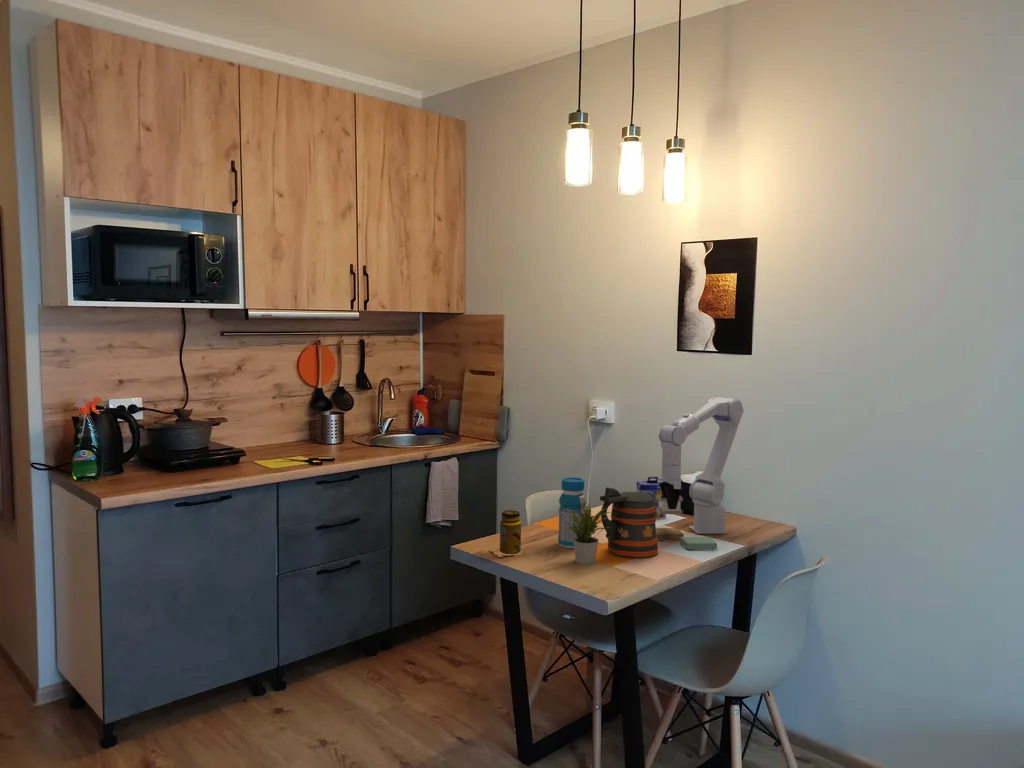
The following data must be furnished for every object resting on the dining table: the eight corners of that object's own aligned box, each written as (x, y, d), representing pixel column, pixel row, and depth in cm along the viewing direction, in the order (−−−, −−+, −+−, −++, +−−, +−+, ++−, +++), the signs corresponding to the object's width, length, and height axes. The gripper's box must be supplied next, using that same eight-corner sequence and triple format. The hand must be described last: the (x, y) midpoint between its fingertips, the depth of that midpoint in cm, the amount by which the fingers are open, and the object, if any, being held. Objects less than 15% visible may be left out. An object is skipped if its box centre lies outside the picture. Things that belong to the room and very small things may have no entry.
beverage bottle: (563, 550, 218) (564, 482, 217) (553, 541, 226) (555, 477, 225) (590, 548, 221) (591, 481, 219) (579, 540, 229) (581, 475, 227)
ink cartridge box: (638, 519, 255) (640, 477, 254) (634, 515, 260) (635, 474, 259) (666, 518, 256) (668, 477, 255) (662, 514, 261) (663, 474, 260)
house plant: (622, 568, 202) (624, 509, 201) (575, 573, 198) (576, 512, 197) (601, 553, 216) (602, 497, 214) (556, 556, 212) (557, 500, 210)
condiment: (525, 554, 213) (526, 513, 212) (498, 558, 210) (499, 516, 209) (515, 547, 220) (515, 508, 219) (488, 551, 216) (489, 510, 215)
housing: (678, 510, 234) (678, 494, 234) (682, 513, 230) (682, 497, 229) (656, 510, 233) (656, 495, 233) (660, 514, 229) (660, 498, 229)
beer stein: (622, 565, 205) (623, 493, 204) (585, 551, 217) (587, 484, 215) (668, 553, 217) (670, 485, 215) (631, 541, 228) (633, 477, 227)
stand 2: (708, 542, 228) (709, 536, 228) (717, 549, 221) (717, 543, 221) (680, 543, 227) (680, 536, 227) (687, 550, 220) (687, 543, 220)
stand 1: (676, 534, 237) (676, 527, 237) (683, 540, 230) (683, 534, 230) (648, 534, 236) (649, 528, 236) (654, 540, 229) (655, 534, 229)
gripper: (652, 459, 237) (651, 501, 238) (665, 468, 223) (663, 512, 224) (674, 459, 238) (672, 501, 239) (688, 468, 223) (686, 512, 224)
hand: (670, 507), depth 231 cm, fingers closed on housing, 4 cm apart
